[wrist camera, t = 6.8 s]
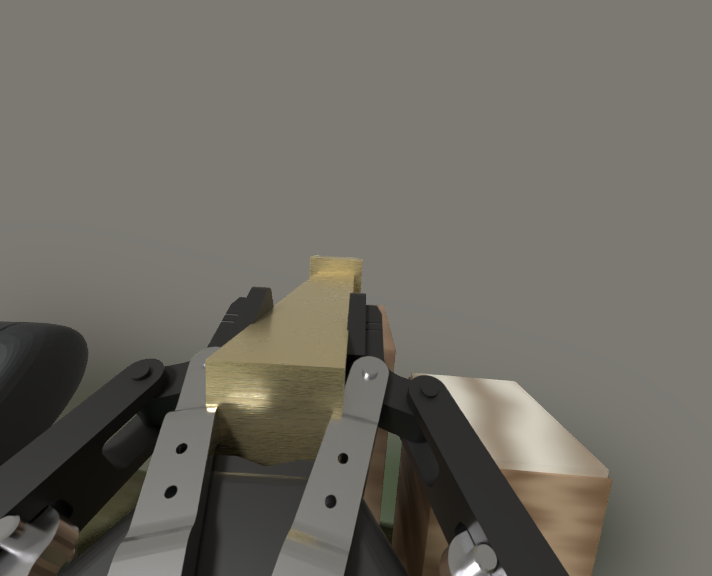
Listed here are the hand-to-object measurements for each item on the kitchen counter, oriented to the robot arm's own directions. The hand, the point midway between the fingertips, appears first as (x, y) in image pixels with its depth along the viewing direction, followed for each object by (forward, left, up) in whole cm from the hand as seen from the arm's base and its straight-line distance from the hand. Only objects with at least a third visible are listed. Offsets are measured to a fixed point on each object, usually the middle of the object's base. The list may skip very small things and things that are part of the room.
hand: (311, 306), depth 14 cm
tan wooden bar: (+2, +7, -4) cm, 8 cm away
